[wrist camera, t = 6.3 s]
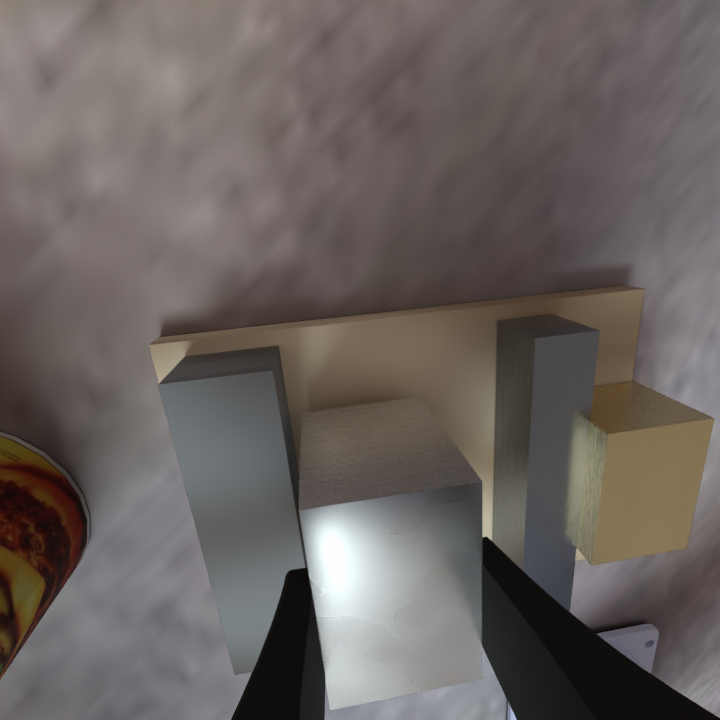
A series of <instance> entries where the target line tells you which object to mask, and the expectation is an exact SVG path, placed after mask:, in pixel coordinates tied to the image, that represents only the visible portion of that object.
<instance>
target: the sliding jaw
mask: <svg viewBox="0 0 720 720" xmlns="http://www.w3.org/2000/svg"><path fill="white" fill-rule="evenodd" d="M599 335H600V330H597V329H594V328H592V327H589V326H586V325H583V324H580V323H577V322H574V321H571V320H568V319H565V318H562V317H560V316H557V315H554V314H549V315H541V316H532V317H524V318H515V319H506V320H498V333H497V375H496V416H495V458H494V500H493V541H492V542H494V543H495V544H496V545H497V546H498V547H499V548H500V549H501V550H502V551H503V552H504V553H505V554H506V555H507V556H508V557H509V558H510V559H511V560H512V561H513V562H514V563H515V564H516V565H517V566H518V567H520V568H521V569H522V570H523V571H524V572H525V573H526V574H527V575H528V576H529V577H530V578H531V579H532V580H534V581H535V582H536V583H537V584H538V585H539V586H540V587H541V588H542V589H544V590H545V591H546V592H547V593H548V594H549V595H550V596H552V597H553V598H554V599H555V600H556V601H557V602H558V603H560V604H561V605H562V606H563V607H564V608H565V609H567V610H568V611H570V604H571V595H572V586H573V576H574V567H575V558H576V549H578V550H579V551H580V552H581V554H582V555H583V556H584V557H585V558H586V559H587V561H588V562H589V563H590V564H591V565H597V564H603V563H608V562H614V561H619V560H625V559H630V558H636V557H641V556H647V555H652V554H658V553H663V552H669V551H674V550H680V549H685V548H686V547H687V543H688V538H689V533H690V529H691V524H692V519H693V515H694V510H695V506H696V501H697V496H698V492H699V487H700V483H701V478H702V473H703V469H704V464H705V459H706V455H707V450H708V446H709V441H710V436H711V432H712V427H713V422H714V418H712V417H710V416H708V415H706V414H704V413H702V412H700V411H697V410H695V409H693V408H691V407H689V406H687V405H684V404H682V403H680V402H678V401H676V400H674V399H671V398H669V397H667V396H665V395H663V394H661V393H658V392H656V391H654V390H652V389H650V388H648V387H645V386H643V385H641V384H639V383H637V382H635V381H632V382H624V383H617V384H610V385H602V386H595V387H594V381H595V372H596V363H597V353H598V344H599Z"/></svg>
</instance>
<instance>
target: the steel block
mask: <svg viewBox="0 0 720 720" xmlns="http://www.w3.org/2000/svg"><path fill="white" fill-rule="evenodd" d="M299 517H300V523H301V529H302V535H303V542H304V548H305V554H306V561H307V567H308V573H309V579H310V586H311V592H312V594H313V600H314V606H315V613H316V619H317V626H318V632H319V639H320V645H321V652H322V658H323V664H324V671H325V680H326V687H327V693H328V699H329V705H330V710H334V709H339V708H344V707H349V706H354V705H359V704H363V703H368V702H373V701H378V700H383V699H388V698H393V697H398V696H402V695H407V694H412V693H417V692H422V691H427V690H432V689H437V688H441V687H446V686H451V685H456V684H461V683H466V682H471V681H476V680H480V679H482V480H481V479H480V478H479V476H478V475H477V473H476V472H475V471H474V469H473V468H472V467H471V465H470V464H469V462H468V461H467V460H466V458H465V457H464V456H463V454H462V453H461V451H460V450H459V449H458V447H457V446H456V445H455V443H454V442H453V440H452V439H451V438H450V436H449V435H448V434H447V432H446V431H445V429H444V428H443V427H442V425H441V424H440V423H439V421H438V420H437V419H436V417H435V416H434V414H433V413H432V412H431V410H430V409H429V408H428V406H427V405H426V403H425V402H424V401H423V399H422V398H421V397H415V398H408V399H400V400H393V401H385V402H378V403H371V404H363V405H356V406H348V407H341V408H333V409H326V410H318V411H311V412H303V413H301V444H300V478H299Z"/></svg>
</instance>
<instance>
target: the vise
mask: <svg viewBox="0 0 720 720" xmlns="http://www.w3.org/2000/svg"><path fill="white" fill-rule="evenodd" d="M644 290H645V289H642V288H637V287H631V286H625V285H621V286H612V287H603V288H594V289H585V290H576V291H568V292H559V293H550V294H541V295H532V296H523V297H514V298H505V299H496V300H487V301H478V302H469V303H460V304H451V305H442V306H433V307H425V308H416V309H407V310H398V311H389V312H380V313H371V314H362V315H353V316H344V317H335V318H326V319H317V320H308V321H299V322H290V323H281V324H273V325H264V326H255V327H246V328H237V329H228V330H219V331H210V332H201V333H192V334H183V335H174V336H165V337H159V338H158V339H156V340H155V341H154V342H152V343H151V344H150V345H149V348H150V352H151V356H152V359H153V363H154V367H155V371H156V375H157V378H158V382H159V384H158V386H159V390H160V394H161V398H162V401H163V405H164V409H165V413H166V416H167V420H168V424H169V428H170V432H171V435H172V439H173V443H174V447H175V450H176V454H177V458H178V462H179V466H180V469H181V473H182V477H183V481H184V484H185V488H186V492H187V496H188V500H189V503H190V507H191V511H192V515H193V518H194V522H195V526H196V530H197V534H198V537H199V541H200V545H201V549H202V552H203V556H204V560H205V564H206V568H207V571H208V575H209V579H210V583H211V586H212V590H213V594H214V598H215V602H216V605H217V609H218V613H219V617H220V620H221V624H222V628H223V632H224V636H225V639H226V643H227V647H228V651H229V654H230V658H231V662H232V666H233V669H234V673H235V675H237V674H242V673H247V672H252V671H253V670H254V667H255V665H256V663H257V660H258V658H259V655H260V653H261V650H262V647H263V645H264V642H265V640H266V637H267V634H268V632H269V629H270V626H271V624H272V621H273V618H274V615H275V612H276V609H277V606H278V603H279V599H280V596H281V592H282V589H283V585H284V581H285V576H286V574H287V573H288V572H289V570H294V569H299V568H305V567H307V561H306V554H305V548H304V542H303V535H302V529H301V523H300V517H299V478H300V444H301V413H303V412H311V411H318V410H326V409H333V408H341V407H348V406H356V405H363V404H371V403H378V402H385V401H393V400H400V399H408V398H415V397H421V398H422V399H423V401H424V402H425V403H426V405H427V406H428V408H429V409H430V410H431V412H432V413H433V414H434V416H435V417H436V419H437V420H438V421H439V423H440V424H441V425H442V427H443V428H444V429H445V431H446V432H447V434H448V435H449V436H450V438H451V439H452V440H453V442H454V443H455V445H456V446H457V447H458V449H459V450H460V451H461V453H462V454H463V456H464V457H465V458H466V460H467V461H468V462H469V464H470V465H471V467H472V468H473V469H474V471H475V472H476V473H477V475H478V476H479V478H480V479H481V480H482V537H488V538H489V539H490V540H491V541H493V500H494V458H495V416H496V375H497V333H498V320H506V319H515V318H524V317H532V316H541V315H549V314H554V315H557V316H560V317H562V318H565V319H568V320H571V321H574V322H577V323H580V324H583V325H586V326H589V327H592V328H594V329H597V330H600V335H599V344H598V353H597V363H596V372H595V381H594V387H595V386H602V385H610V384H617V383H624V382H632V376H633V369H634V362H635V355H636V348H637V340H638V333H639V326H640V319H641V312H642V305H643V297H644ZM585 559H586V558H585V557H584V556H583V555H582V554H581V552H580V551H579V550H578V549H576V558H575V561H579V560H585Z"/></svg>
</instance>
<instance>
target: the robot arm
mask: <svg viewBox="0 0 720 720" xmlns="http://www.w3.org/2000/svg"><path fill="white" fill-rule="evenodd" d="M658 638H659V631H658V630H657V629H656V628H655V627H654V625H652V624H642V625H637V626H632V627H627V628H622V629H616V630H611V631H606V632H601V633H595V632H593V631H592V630H591V629H590V628H588V627H587V626H586V625H585V624H583V623H582V622H581V621H580V620H579V619H577V618H576V617H575V616H574V615H572V614H571V613H570V612H569V611H568V610H567V609H565V608H564V607H563V606H562V605H561V604H560V603H558V602H557V601H556V600H555V599H554V598H553V597H552V596H550V595H549V594H548V593H547V592H546V591H545V590H544V589H542V588H541V587H540V586H539V585H538V584H537V583H536V582H535V581H534V580H532V579H531V578H530V577H529V576H528V575H527V574H526V573H525V572H524V571H523V570H522V569H521V568H520V567H518V566H517V565H516V564H515V563H514V562H513V561H512V560H511V559H510V558H509V557H508V556H507V555H506V554H505V553H504V552H503V551H502V550H501V549H500V548H499V547H498V546H497V545H496V544H495V543H494V542H492V541H491V540H490V539H489V538H488V537H482V646H483V648H484V651H485V653H486V655H487V657H488V659H489V661H490V664H491V666H492V668H493V670H494V672H495V674H496V676H497V679H498V681H499V683H500V685H501V687H502V689H503V691H504V694H505V696H506V698H507V700H508V714H507V720H720V718H718V717H717V716H715V715H714V714H712V713H710V712H709V711H707V710H706V709H704V708H702V707H701V706H699V705H698V704H696V703H695V702H693V701H691V700H690V699H688V698H687V697H685V696H683V695H682V694H680V693H679V692H677V691H676V690H674V689H672V688H671V687H669V686H668V685H666V684H665V683H663V682H662V681H660V680H659V679H657V678H656V677H655V676H653V675H652V674H651V671H652V667H653V662H654V657H655V652H656V647H657V642H658ZM324 714H325V671H324V664H323V658H322V652H321V645H320V639H319V632H318V626H317V619H316V613H315V606H314V600H313V594H312V592H311V586H310V579H309V573H308V567H305V568H299V569H294V570H289V572H288V573H287V574H286V576H285V581H284V585H283V589H282V592H281V596H280V599H279V603H278V606H277V609H276V612H275V615H274V618H273V621H272V624H271V626H270V629H269V632H268V634H267V637H266V640H265V642H264V645H263V647H262V650H261V653H260V655H259V658H258V660H257V663H256V665H255V667H254V670H253V672H252V674H251V677H250V679H249V681H248V683H247V686H246V688H245V690H244V693H243V695H242V697H241V699H240V702H239V704H238V706H237V708H236V710H235V712H234V714H233V717H232V719H231V720H324Z"/></svg>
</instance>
